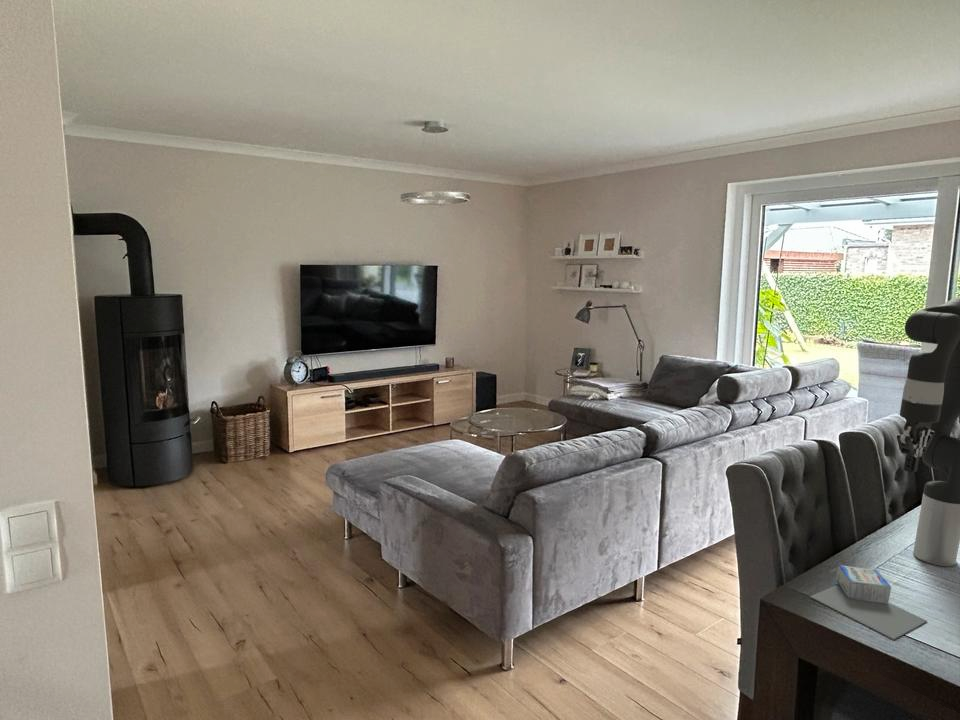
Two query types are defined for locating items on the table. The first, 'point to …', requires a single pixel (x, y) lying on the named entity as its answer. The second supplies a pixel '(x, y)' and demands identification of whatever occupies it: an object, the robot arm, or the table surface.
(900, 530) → the table surface
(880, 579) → the medicine box
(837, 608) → the slate mat
